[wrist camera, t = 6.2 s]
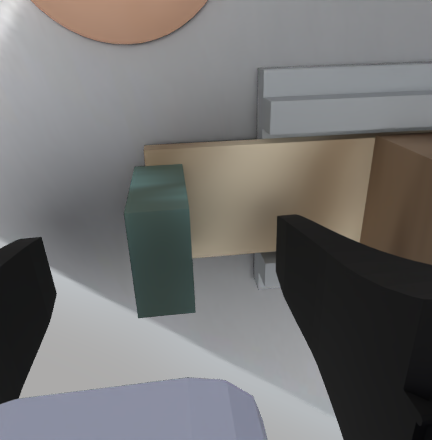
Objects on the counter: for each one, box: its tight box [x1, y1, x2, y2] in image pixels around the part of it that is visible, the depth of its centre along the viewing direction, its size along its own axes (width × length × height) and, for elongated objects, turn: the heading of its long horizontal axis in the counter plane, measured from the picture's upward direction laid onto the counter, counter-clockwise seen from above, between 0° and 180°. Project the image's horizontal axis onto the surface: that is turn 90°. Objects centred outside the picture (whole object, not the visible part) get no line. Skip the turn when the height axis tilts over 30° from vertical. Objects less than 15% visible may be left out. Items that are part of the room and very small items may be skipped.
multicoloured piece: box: [124, 130, 432, 318], centre depth 14 cm, size 15×5×5 cm, turn 92°
